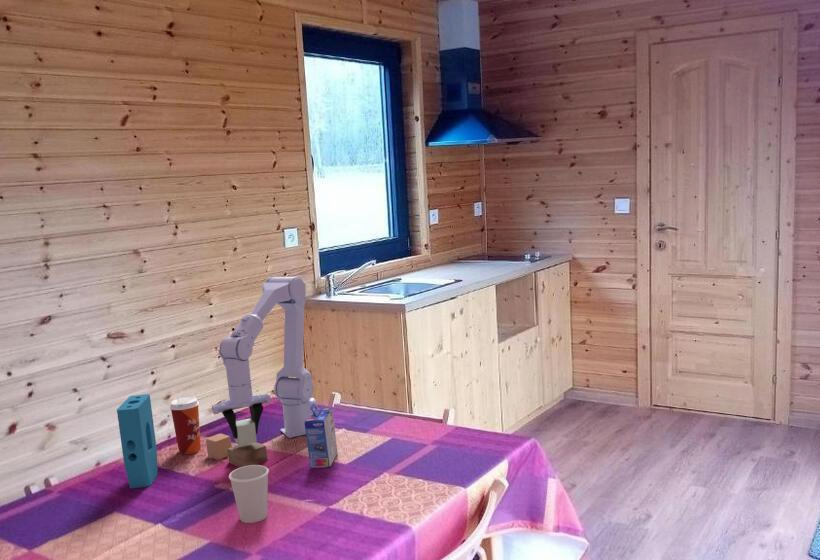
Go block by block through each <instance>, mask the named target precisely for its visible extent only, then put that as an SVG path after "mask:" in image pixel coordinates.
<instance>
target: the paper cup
mask: <svg viewBox="0 0 820 560" xmlns="http://www.w3.org/2000/svg"><path fill="white" fill-rule="evenodd" d="M199 405H200V402H199V401H198V398H197V397H193V396H187V397H186V396H185V397H179V398H177V399H176V398H175V399H173V400H172V401H171V402H170V406H169V409H170V411H171V417H172V421H173V428H174V432H175V438H176V444H177V448H178V453H179V454H180V455H192V454H195V453H198V452H200V451H201V431H200V415H199V414H200V413H199V412H200V411H199Z"/></svg>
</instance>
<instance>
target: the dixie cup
mask: <svg viewBox="0 0 820 560" xmlns="http://www.w3.org/2000/svg"><path fill="white" fill-rule="evenodd" d="M269 472H270V469H269V468H268V467H267V466H265V465H260V464H255V465H249V466H244V467H238V468H236V469H233V470H232V471H231V472H230V473H229V475H228V479H229V480H230V483H231V487H232V492H233V495H234V500H235V503H236V504H235V505H236V508H237V513H238V515H239V520H240V521H241V522H242V523H244V524H253V523H254V524H255V523H258V522H261V521H263V520H265V519H266V518H267V517H268V488H269V485H268V484H269Z"/></svg>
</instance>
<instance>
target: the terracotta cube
mask: <svg viewBox="0 0 820 560" xmlns="http://www.w3.org/2000/svg"><path fill="white" fill-rule="evenodd" d="M205 442H206V443H205V444H206V452H207V456H208V458H211V459H214V460H217V461H218V460H220V459H224V458H226V457H228V451H227V449H228V448H230V447H232V440H231V435H228V434H227V435H226V434H224V433H217V434H215V435H214V434H213V435H212V436H209V437H207V438H205Z"/></svg>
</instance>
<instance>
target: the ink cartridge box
mask: <svg viewBox="0 0 820 560" xmlns="http://www.w3.org/2000/svg"><path fill="white" fill-rule="evenodd" d="M314 407H315V408H316V409H314ZM310 409H311V410H312V411H311V413H310V414H309V416H308V417H307V419H306V420H305V422H304V423H305V431H306V434H305V435H306V436H305V437H306V445H307V451H308V452H307V453H308V459H309V468H310V469H312V468H313V469H314V468H315V469H317V468H319V469H320V468H322V469H323V468H330V467H332V464H333V462H334V460H335V459H336V456H337V455H338V444H337V443H338V442H337V437H336V435H337V434H336V427H335V419H334V413H333V407H325V408H323V407H322V408H320V407H318V408H317V407H316V405H315V404H314V403H313V404H312V406H311V407H310Z"/></svg>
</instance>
